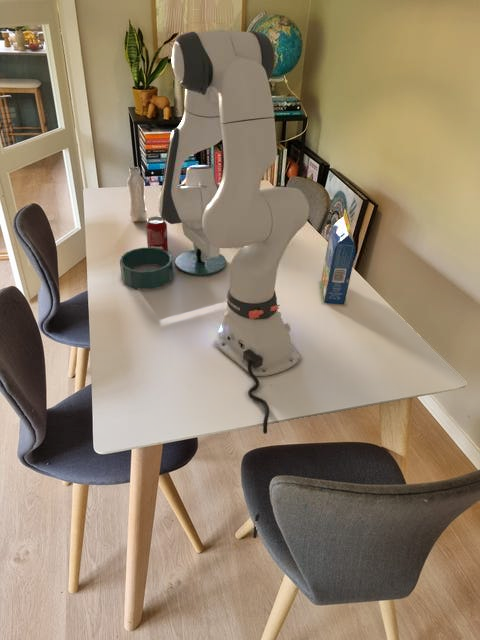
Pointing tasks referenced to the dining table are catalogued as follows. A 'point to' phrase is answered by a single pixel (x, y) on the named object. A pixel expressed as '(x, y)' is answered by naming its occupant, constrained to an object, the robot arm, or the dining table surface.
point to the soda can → (157, 233)
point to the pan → (146, 278)
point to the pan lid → (199, 263)
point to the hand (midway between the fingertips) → (200, 258)
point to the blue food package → (338, 262)
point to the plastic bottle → (136, 195)
